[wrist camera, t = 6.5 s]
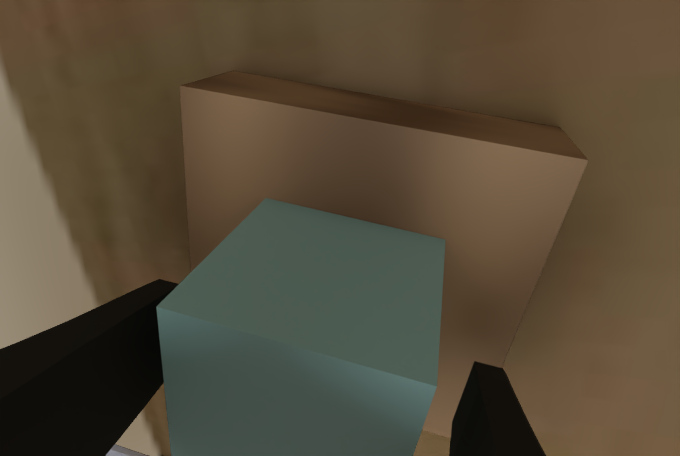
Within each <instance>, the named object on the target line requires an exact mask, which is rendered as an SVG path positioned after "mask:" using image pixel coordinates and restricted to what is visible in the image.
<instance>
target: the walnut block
mask: <svg viewBox="0 0 680 456" xmlns="http://www.w3.org/2000/svg"><path fill="white" fill-rule="evenodd" d="M180 98H181V115H182V133H183V150H184V167H185V185H186V202H187V219H188V237H189V254H190V271H191V272H192V271H193V270H194V269H195V268H196V267H197V266H198V265H199V264H200V263H201V262H202V261H203V260H204V259H205V258H206V257H207V256H208V255H209V254H210V253H211V252H212V251H213V250H214V249H215V248H216V247H217V246H218V245H219V244H220V243H221V242H222V241H223V240H224V239H225V238H226V237H227V236H228V235H229V234H230V233H231V232H232V231H233V230H234V229H235V228H236V227H237V226H238V225H239V224H240V223H241V222H242V221H243V220H244V219H245V218H246V217H247V216H248V215H249V214H250V213H251V212H252V211H253V210H254V209H255V208H256V207H257V206H258V205H259V204H260V203H261V202H262V201H263V200H264V199H265V198H268V199H273V200H277V201H281V202H286V203H290V204H294V205H299V206H303V207H307V208H311V209H316V210H320V211H324V212H329V213H333V214H337V215H342V216H346V217H350V218H354V219H359V220H363V221H367V222H372V223H376V224H380V225H385V226H389V227H393V228H397V229H402V230H406V231H410V232H415V233H419V234H423V235H428V236H432V237H436V238H440V239H445V258H444V275H443V292H442V309H441V326H440V343H439V361H438V378H437V388H436V391H435V394H434V397H433V399H432V402H431V405H430V408H429V411H428V414H427V417H426V419H425V422H424V425H423V428H422V430H424V431H427V432H431V433H434V434H437V435H441V436H444V437H448V438H451V429H452V420H453V418H454V415H455V412H456V410H457V407H458V404H459V401H460V399H461V396H462V393H463V391H464V388H465V385H466V382H467V380H468V377H469V374H470V372H471V369H472V366H473V363H474V361H476V362H480V363H484V364H488V365H492V366H496V367H500V368H502V365H503V363H504V361H505V358H506V356H507V353H508V351H509V349H510V346H511V344H512V341H513V339H514V337H515V334H516V332H517V330H518V327H519V325H520V322H521V320H522V318H523V315H524V313H525V311H526V308H527V306H528V303H529V301H530V299H531V296H532V294H533V291H534V289H535V287H536V284H537V282H538V280H539V277H540V275H541V272H542V270H543V268H544V265H545V263H546V261H547V258H548V256H549V253H550V251H551V249H552V246H553V244H554V241H555V239H556V237H557V234H558V232H559V230H560V227H561V225H562V222H563V220H564V218H565V215H566V213H567V211H568V208H569V206H570V203H571V201H572V199H573V196H574V194H575V191H576V189H577V187H578V184H579V182H580V180H581V177H582V175H583V172H584V170H585V168H586V165H587V163H588V161H589V160H588V159H587V158H586V157H585V156H584V154H583V153H582V152H581V151H580V150H579V149H578V148H577V146H576V145H575V144H574V143H573V142H572V141H571V139H570V138H569V137H568V136H567V135H566V134H565V133H564V131H563V130H562V129H561V128H559V127H554V126H548V125H542V124H536V123H531V122H525V121H519V120H513V119H508V118H502V117H496V116H490V115H485V114H479V113H473V112H467V111H461V110H456V109H450V108H444V107H438V106H433V105H427V104H421V103H415V102H410V101H404V100H398V99H392V98H387V97H381V96H375V95H369V94H364V93H358V92H352V91H346V90H341V89H335V88H329V87H323V86H318V85H312V84H306V83H300V82H295V81H289V80H283V79H277V78H272V77H266V76H260V75H254V74H249V73H243V72H237V71H231V72H227V73H224V74H220V75H216V76H213V77H209V78H206V79H202V80H198V81H195V82H191V83H188V84H184V85H180Z"/></svg>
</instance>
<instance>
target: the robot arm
mask: <svg viewBox="0 0 680 456" xmlns="http://www.w3.org/2000/svg"><path fill="white" fill-rule="evenodd" d="M178 285H179V284H176V283H173V282H169V281H165V280H161V279H158V280H156V281H154V282H151V283H149V284H147V285H144V286H142V287H140V288H138V289H136V290H133V291H131V292H129V293H127V294H125V295H123V296H121V297H118V298H116V299H114V300H112V301H110V302H108V303H106V304H104V305H101V306H99V307H97V308H95V309H93V310H91V311H89V312H86V313H84V314H82V315H80V316H78V317H76V318H73V319H71V320H69V321H67V322H65V323H62V324H60V325H57V326H55V327H53V328H51V329H48V330H46V331H43V332H41V333H39V334H36V335H34V336H32V337H29V338H27V339H25V340H22V341H20V342H17V343H15V344H12V345H10V346H7V347H5V348H2V349H0V456H148V455H145V454H142V453H139V452H136V451H133V450H130V449H127V448H124V447H121V446H118V445H115V443H116V442H117V441H118V439H119V438H120V437H121V436H122V434H123V433H124V432H125V430H126V429H127V428H128V427H129V426H130V424H131V423H132V422H133V420H134V419H135V418H136V417H137V416H138V414H139V413H140V412H141V411H142V409H143V408H144V407H145V406H146V404H147V403H148V402H149V401H150V399H151V398H152V397H153V395H154V394H155V393H156V392H157V390H158V389H159V388H160V386H161V385H162V384H163V382H164V379H163V369H162V359H161V349H160V339H159V329H158V319H157V309H156V307H157V306H158V305H159V304H160V303H161V302H162V301H163V300H164V299H165V298H166V297H167V296H168V295H169V294H170V293H171V292H172V291H173V290H174V289H175V288H176V287H177V286H178ZM449 456H546V455H545V453H544V451H543V449H542V447H541V445H540V444H539V442H538V440H537V438H536V436H535V434H534V432H533V430H532V428H531V426H530V424H529V422H528V420H527V418H526V416H525V414H524V412H523V410H522V407H521V405H520V403H519V401H518V399H517V397H516V395H515V392H514V390H513V388H512V386H511V384H510V381H509V379H508V377H507V375H506V373H505V371H504V370H503V368H500V367H496V366H492V365H488V364H484V363H480V362H476V361H474V363H473V366H472V369H471V372H470V374H469V377H468V380H467V382H466V385H465V388H464V391H463V393H462V396H461V399H460V401H459V404H458V407H457V410H456V412H455V415H454V418H453V420H452V429H451V441H450V454H449Z"/></svg>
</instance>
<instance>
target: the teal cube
mask: <svg viewBox="0 0 680 456" xmlns="http://www.w3.org/2000/svg"><path fill="white" fill-rule="evenodd" d="M444 258H445V239H440V238H436V237H432V236H428V235H423V234H419V233H415V232H410V231H406V230H402V229H397V228H393V227H389V226H385V225H380V224H376V223H372V222H367V221H363V220H359V219H354V218H350V217H346V216H342V215H337V214H333V213H329V212H324V211H320V210H316V209H311V208H307V207H303V206H299V205H294V204H290V203H286V202H281V201H277V200H273V199H268V198H265V199H264V200H263V201H262V202H261V203H260V204H259V205H258V206H257V207H256V208H255V209H254V210H253V211H252V212H251V213H250V214H249V215H248V216H247V217H246V218H245V219H244V220H243V221H242V222H241V223H240V224H239V225H238V226H237V227H236V228H235V229H234V230H233V231H232V232H231V233H230V234H229V235H228V236H227V237H226V238H225V239H224V240H223V241H222V242H221V243H220V244H219V245H218V246H217V247H216V248H215V249H214V250H213V251H212V252H211V253H210V254H209V255H208V256H207V257H206V258H205V259H204V260H203V261H202V262H201V263H200V264H199V265H198V266H197V267H196V268H195V269H194V270H193V271H192V272H191V273H190V274H189V275H188V276H187V277H186V278H185V279H184V280H183V281H182V282H181V283H180V284H179V285H178V286H177V287H176V288H175V289H174V290H173V291H172V292H171V293H170V294H169V295H168V296H167V297H166V298H165V299H164V300H163V301H162V302H161V303H160V304H159V305H158V306H157V307H156V309H157V319H158V329H159V339H160V349H161V359H162V369H163V379H164V389H165V399H166V409H167V419H168V428H169V438H170V448H171V456H413V454H414V451H415V448H416V445H417V442H418V440H419V437H420V434H421V431H422V428H423V425H424V422H425V419H426V417H427V414H428V411H429V408H430V405H431V402H432V399H433V397H434V394H435V391H436V388H437V378H438V361H439V343H440V326H441V309H442V292H443V275H444Z"/></svg>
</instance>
